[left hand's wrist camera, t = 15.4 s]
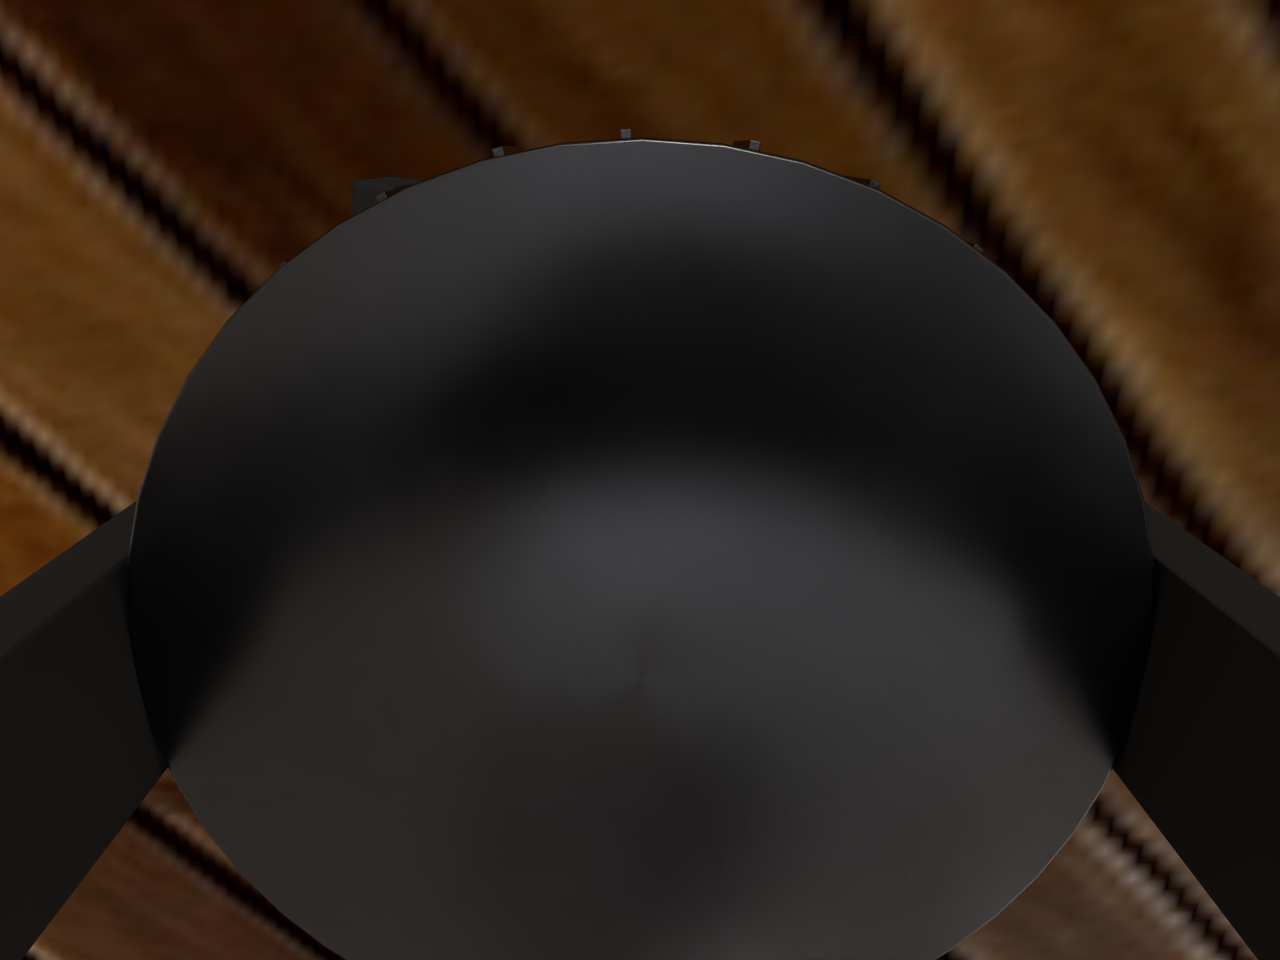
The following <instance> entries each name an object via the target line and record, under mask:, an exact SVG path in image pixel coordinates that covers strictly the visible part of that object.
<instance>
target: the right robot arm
mask: <svg viewBox="0 0 1280 960" xmlns="http://www.w3.org/2000/svg"><path fill="white" fill-rule="evenodd" d="M419 182H422V181H420V180H413V179H407V178H400V177H393V176H391V177H382V178H374V179H365V180H357V181H353V213H352V216H354V215H356V214H357V213H359V212H361V211H363V210H365V209H367V208H369V207H370V206H372V205H374V204H376V203H378V201H377V200H376V198H375V197H376V196H377V195H379V194H381V193H383V192H386V191H392V190H398V189H404V188H406V187H408V186H411V185H413V184H416V183H419Z"/></svg>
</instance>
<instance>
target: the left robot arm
mask: <svg viewBox="0 0 1280 960" xmlns="http://www.w3.org/2000/svg"><path fill="white" fill-rule="evenodd" d="M136 504H137V501H136V502H134V503H133V504H131V505H130V506H129V507H127V508H126V509H124V510H123V511H121V512H120V513H119V514H117V515H116V516H114V517H113V518H112V519H110V520H109V521H107V522H106V523H104V524H103V525H102V526H100V527H99V528H97V529H96V530H95V531H93V532H92V533H90V534H89V535H87V536H86V537H85V538H83V539H82V540H80V541H79V542H77V543H76V544H75V545H73V546H72V547H70V548H69V549H68V550H66V551H65V552H63V553H62V554H60V555H59V556H58V557H56V558H55V559H53V560H52V561H51V562H49V563H48V564H46V565H45V566H43V567H42V568H41V569H39V570H38V571H36V572H35V573H33V574H32V575H31V576H29V577H28V578H26V579H25V580H24V581H22V582H21V583H19V584H18V585H16V586H15V587H14V588H12V589H11V590H9V591H8V592H7V593H5V594H4V595H2V596H1V597H0V960H22V958H23V957H24V956H25V954H26V953H27V952H28V950H29V949H30V948H31V946H32V945H33V944H34V942H35V941H36V940H37V939H38V937H39V936H40V935H41V933H42V932H43V931H44V929H45V928H46V927H47V925H48V924H49V923H50V921H51V920H52V919H53V917H54V916H55V915H56V914H57V912H58V911H59V910H60V908H61V907H62V906H63V904H64V903H65V902H66V900H67V899H68V898H69V896H70V895H71V894H72V892H73V891H74V890H75V889H76V887H77V886H78V885H79V883H80V882H81V881H82V879H83V878H84V877H85V875H86V874H87V873H88V871H89V870H90V869H91V867H92V866H93V865H94V864H95V862H96V861H97V860H98V858H99V857H100V856H101V854H102V853H103V852H104V850H105V849H106V848H107V846H108V845H109V844H110V842H111V841H112V840H113V839H114V837H115V836H116V835H117V833H118V832H119V831H120V829H121V828H122V827H123V825H124V824H125V823H126V821H127V820H128V819H129V818H130V816H131V815H132V814H133V812H134V811H135V810H136V808H137V807H138V806H139V804H140V803H141V802H142V800H143V799H144V798H145V796H146V795H147V794H148V793H149V791H150V790H151V789H152V787H153V786H154V785H155V783H156V782H157V781H158V779H159V778H160V777H161V775H162V774H163V773H164V771H165V770H166V769H167V768H168V765H167V762H166V760H165V758H164V756H163V754H162V751H161V749H160V747H159V745H158V743H157V740H156V738H155V736H154V734H153V732H152V728H151V725H150V722H149V718H148V715H147V712H146V708H145V705H144V701H143V698H142V695H141V691H140V687H139V683H138V679H137V674H136V669H135V664H134V659H133V652H132V645H131V638H130V632H129V625H128V554H129V548H130V542H131V535H132V529H133V523H134V516H135V510H136ZM1145 508H1146V515H1147V521H1148V528H1149V534H1150V541H1151V547H1152V554H1153V561H1154V621H1153V628H1152V635H1151V641H1150V648H1149V653H1148V658H1147V663H1146V667H1145V672H1144V677H1143V682H1142V686H1141V690H1140V694H1139V698H1138V702H1137V706H1136V710H1135V713H1134V716H1133V719H1132V723H1131V726H1130V729H1129V732H1128V736H1127V738H1126V740H1125V742H1124V744H1123V746H1122V748H1121V751H1120V753H1119V755H1118V757H1117V759H1116V761H1115V763H1114V766H1113V769H1114V771H1115V772H1116V773H1117V775H1118V776H1119V777H1120V779H1121V780H1122V781H1123V783H1124V784H1125V785H1126V787H1127V788H1128V789H1129V790H1130V792H1131V793H1132V794H1133V796H1134V797H1135V798H1136V800H1137V801H1138V802H1139V804H1140V805H1141V806H1142V808H1143V809H1144V810H1145V812H1146V813H1147V814H1148V815H1149V817H1150V818H1151V819H1152V821H1153V822H1154V823H1155V825H1156V826H1157V827H1158V829H1159V830H1160V831H1161V833H1162V834H1163V835H1164V837H1165V838H1166V839H1167V840H1168V842H1169V843H1170V844H1171V846H1172V847H1173V848H1174V850H1175V851H1176V852H1177V854H1178V855H1179V856H1180V858H1181V859H1182V860H1183V862H1184V863H1185V864H1186V865H1187V867H1188V868H1189V869H1190V871H1191V872H1192V873H1193V875H1194V876H1195V877H1196V879H1197V880H1198V881H1199V883H1200V884H1201V885H1202V887H1203V888H1204V889H1205V890H1206V892H1207V893H1208V894H1209V896H1210V897H1211V898H1212V900H1213V901H1214V902H1215V904H1216V905H1217V906H1218V908H1219V909H1220V910H1221V912H1222V913H1223V914H1224V915H1225V917H1226V918H1227V919H1228V921H1229V922H1230V923H1231V925H1232V926H1233V927H1234V929H1235V930H1236V931H1237V933H1238V934H1239V935H1240V937H1241V938H1242V939H1243V940H1244V942H1245V943H1246V944H1247V946H1248V947H1249V948H1250V950H1251V951H1252V952H1253V954H1254V955H1255V956H1256V958H1257V959H1258V960H1280V597H1279V596H1277V595H1276V594H1274V593H1273V592H1272V591H1270V590H1269V589H1267V588H1266V587H1264V586H1263V585H1262V584H1260V583H1259V582H1257V581H1256V580H1255V579H1253V578H1252V577H1250V576H1249V575H1247V574H1246V573H1245V572H1243V571H1242V570H1240V569H1239V568H1238V567H1236V566H1235V565H1233V564H1232V563H1230V562H1229V561H1228V560H1226V559H1225V558H1223V557H1222V556H1220V555H1219V554H1218V553H1216V552H1215V551H1213V550H1212V549H1211V548H1209V547H1208V546H1206V545H1205V544H1203V543H1202V542H1201V541H1199V540H1198V539H1196V538H1195V537H1194V536H1192V535H1191V534H1189V533H1188V532H1186V531H1185V530H1184V529H1182V528H1181V527H1179V526H1178V525H1176V524H1175V523H1174V522H1172V521H1171V520H1169V519H1168V518H1167V517H1165V516H1164V515H1162V514H1161V513H1159V512H1158V511H1157V510H1155V509H1154V508H1152V507H1151V506H1150V505H1148V504H1147V503H1145Z"/></svg>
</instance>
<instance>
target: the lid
mask: <svg viewBox="0 0 1280 960" xmlns="http://www.w3.org/2000/svg"><path fill="white" fill-rule="evenodd" d="M760 145H761V142H758V141H754V140H743V141H734V143H733V145H728V144H723V143H709V142H695V141H682V140H668V139H654V138H633V132H632V130H631V129H621V130H620V139H614V140H599V141H584V142H569V143H559V144H554V145H549V146H544V147H540V148H535V149H530V150H525V151H524V148H523V147H522V146H501V147H497V148H493V149H492V152H493V155H494V157H492V158H487V159H483V160H479V161H477V162H474V163H471V164H468V165H466V166H463V167H460V168H457V169H455V170H452V171H449V172H446V173H444V174H441V175H438V176H435V177H433V178H430V179H427V180H424V181H422V182H419V183H416V184H413V185H411V186H408V187H406V188H404V189H398V190H392V191H386V192H383V193H381V194H379V195H377V196H376V197H375V198H376V200H377V201H378V203H376V204H374V205H372V206H370V207H369V208H367V209H365V210H363V211H361V212H359V213H357V214H356V215H354V216H352V217H350V218H348V219H346V220H344V221H343V222H341V223H339V224H338V225H336V226H335V227H333V228H332V229H331V230H329V231H328V232H327V233H325V234H324V235H323V236H321V237H320V238H319V239H317V240H316V241H315V242H313V243H312V244H311V245H309V246H308V247H307V248H305V249H304V250H303V251H301V252H300V253H299V254H297V255H296V256H295V257H293V258H292V259H290V260H287V261H284V262H283V263H282V264H281V265H280V266H279V267H278V268H279V269H278V270H277V271H276V272H275V273H274V274H273V275H272V276H271V277H270V278H269V279H268V280H267V281H266V282H265V283H264V284H263V285H262V286H261V287H260V288H259V289H258V290H257V291H256V292H255V293H254V294H253V295H252V296H251V297H250V298H249V299H248V300H247V301H246V302H245V303H244V304H243V305H242V306H241V307H240V308H239V309H238V310H237V311H236V312H235V313H234V314H233V315H232V316H231V317H230V318H229V319H228V321H227V322H226V323H225V325H224V326H223V327H222V329H221V330H220V332H219V333H218V334H217V336H216V337H215V339H214V340H213V341H212V343H211V344H210V345H209V347H208V348H207V350H206V351H205V352H204V354H203V355H202V357H201V358H200V359H199V361H198V362H197V363H196V365H195V366H194V368H193V369H192V370H191V372H190V373H189V375H188V376H187V378H186V380H185V382H184V384H183V386H182V388H181V390H180V392H179V394H178V396H177V398H176V400H175V402H174V404H173V406H172V408H171V410H170V411H169V413H168V415H167V417H166V419H165V421H164V423H163V425H162V427H161V429H160V431H159V433H158V435H157V438H156V441H155V445H154V448H153V451H152V454H151V457H150V460H149V463H148V466H147V469H146V472H145V475H144V478H143V481H142V485H141V488H140V491H139V494H138V498H137V504H136V510H135V516H134V523H133V529H132V535H131V542H130V548H129V554H128V625H129V632H130V638H131V645H132V652H133V659H134V664H135V669H136V674H137V679H138V683H139V687H140V691H141V695H142V698H143V701H144V705H145V708H146V712H147V715H148V718H149V722H150V725H151V728H152V732H153V734H154V736H155V738H156V740H157V743H158V745H159V747H160V749H161V751H162V754H163V756H164V758H165V760H166V762H167V765H168V767H169V769H170V771H171V773H172V775H173V778H174V780H175V782H176V784H177V786H178V787H179V789H180V790H181V792H182V794H183V795H184V797H185V798H186V800H187V802H188V803H189V805H190V806H191V808H192V810H193V811H194V813H195V814H196V816H197V818H198V819H199V821H200V822H201V824H202V826H203V827H204V829H205V830H206V832H207V833H208V834H209V835H210V837H211V838H212V839H213V840H214V842H215V843H216V844H217V845H218V846H219V848H220V849H221V850H222V851H223V853H224V854H225V855H226V856H227V857H228V859H229V860H230V861H231V862H232V864H233V865H234V866H235V867H236V868H237V870H238V871H239V872H240V873H241V875H242V876H243V877H245V878H246V879H247V880H248V881H249V882H250V883H251V884H252V885H253V886H254V887H255V888H256V889H257V890H258V891H259V892H260V893H261V894H262V895H263V896H264V897H265V898H266V899H267V900H268V901H269V902H271V903H272V904H273V905H274V906H275V907H276V908H277V909H278V910H279V911H280V912H281V913H282V914H283V915H285V916H286V917H287V918H289V919H290V920H291V921H292V922H294V923H295V924H296V925H298V926H299V927H300V928H302V929H303V930H304V931H306V932H307V933H308V934H310V935H311V936H312V937H313V938H315V939H316V940H317V941H319V942H320V943H321V944H323V945H324V946H325V947H327V948H328V949H330V950H332V951H333V952H335V953H337V954H338V955H340V956H342V957H343V958H345V959H347V960H935V959H937V958H939V957H940V956H942V955H944V954H945V953H947V952H949V951H950V950H952V949H954V948H955V947H956V946H958V945H959V944H960V943H962V942H963V941H964V940H966V939H967V938H968V937H970V936H971V935H972V934H974V933H975V932H976V931H978V930H979V929H980V928H981V927H983V926H984V925H985V924H987V923H988V922H989V921H991V920H992V919H993V918H995V917H996V916H997V915H998V914H999V913H1001V912H1002V911H1003V910H1004V909H1005V908H1006V907H1007V906H1008V905H1009V904H1010V903H1011V902H1012V901H1013V900H1014V899H1015V898H1016V897H1017V896H1018V895H1020V894H1021V893H1022V892H1023V891H1024V890H1025V889H1026V888H1027V887H1028V886H1029V885H1030V884H1031V883H1032V882H1033V881H1034V880H1035V879H1036V878H1037V877H1038V876H1039V875H1040V874H1041V873H1042V871H1043V870H1044V869H1045V868H1046V867H1047V865H1048V864H1049V863H1050V862H1051V861H1052V859H1053V858H1054V857H1055V856H1056V855H1057V853H1058V852H1059V851H1060V850H1061V849H1062V847H1063V846H1064V845H1065V844H1066V843H1067V841H1068V840H1069V839H1070V838H1071V837H1072V835H1073V834H1074V832H1075V831H1076V829H1077V828H1078V826H1079V825H1080V823H1081V821H1082V820H1083V818H1084V817H1085V815H1086V814H1087V812H1088V811H1089V809H1090V807H1091V806H1092V804H1093V803H1094V801H1095V800H1096V798H1097V796H1098V795H1099V793H1100V792H1101V790H1102V789H1103V787H1104V785H1105V783H1106V781H1107V778H1108V776H1109V774H1110V772H1111V770H1112V768H1113V766H1114V763H1115V761H1116V759H1117V757H1118V755H1119V753H1120V751H1121V748H1122V746H1123V744H1124V742H1125V740H1126V738H1127V736H1128V732H1129V729H1130V726H1131V723H1132V719H1133V716H1134V713H1135V710H1136V706H1137V702H1138V698H1139V694H1140V690H1141V686H1142V682H1143V677H1144V672H1145V667H1146V663H1147V658H1148V653H1149V648H1150V641H1151V635H1152V628H1153V621H1154V561H1153V554H1152V547H1151V541H1150V534H1149V528H1148V521H1147V515H1146V508H1145V501H1144V497H1143V494H1142V491H1141V488H1140V485H1139V481H1138V478H1137V475H1136V472H1135V469H1134V466H1133V463H1132V459H1131V456H1130V453H1129V450H1128V447H1127V444H1126V440H1125V438H1124V436H1123V434H1122V432H1121V430H1120V428H1119V425H1118V423H1117V421H1116V419H1115V417H1114V415H1113V413H1112V411H1111V409H1110V407H1109V405H1108V403H1107V401H1106V399H1105V397H1104V395H1103V393H1102V391H1101V389H1100V387H1099V385H1098V383H1097V381H1096V379H1095V378H1094V376H1093V375H1092V374H1091V372H1090V371H1089V369H1088V368H1087V367H1086V365H1085V364H1084V362H1083V361H1082V360H1081V358H1080V357H1079V355H1078V354H1077V353H1076V351H1075V350H1074V348H1073V347H1072V345H1071V344H1070V343H1069V341H1068V340H1067V338H1066V337H1065V336H1064V334H1063V333H1062V331H1061V330H1060V329H1059V327H1058V326H1057V324H1056V323H1055V322H1054V321H1053V320H1052V319H1051V318H1050V317H1049V316H1048V315H1047V314H1046V313H1045V311H1044V310H1043V309H1042V308H1041V307H1040V306H1039V305H1038V304H1037V303H1036V302H1035V301H1034V300H1033V299H1032V298H1031V297H1030V296H1029V295H1028V294H1027V293H1026V292H1025V291H1024V290H1023V289H1022V288H1021V287H1020V286H1019V285H1018V284H1017V283H1016V282H1015V281H1014V280H1013V279H1012V278H1011V277H1010V276H1009V275H1008V274H1007V273H1006V271H1005V270H1003V269H1002V268H1001V267H999V266H998V265H997V264H995V263H994V262H993V261H991V260H990V259H989V258H987V257H986V256H985V255H983V254H982V252H983V249H982V248H981V247H979V246H978V245H977V244H974V243H971V242H967V241H965V240H964V239H962V238H961V237H960V236H958V235H957V234H956V233H954V232H953V231H952V230H950V229H949V228H948V227H946V226H945V225H943V224H941V223H940V222H938V221H936V220H934V219H932V218H930V217H929V216H927V215H925V214H923V213H921V212H919V211H918V210H916V209H914V208H912V207H910V206H908V205H907V204H905V203H903V202H901V201H899V200H897V199H896V198H894V197H892V196H890V195H888V194H887V193H885V192H883V191H881V190H879V188H880V186H881V183H878V182H876V181H874V180H871V179H864V178H857V177H850V176H843V175H840V174H837V173H834V172H832V171H829V170H826V169H824V168H821V167H818V166H816V165H813V164H810V163H807V162H805V161H802V160H797V159H792V158H788V157H783V156H779V155H774V154H769V153H765V152H760V151H759V150H760Z"/></svg>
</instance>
